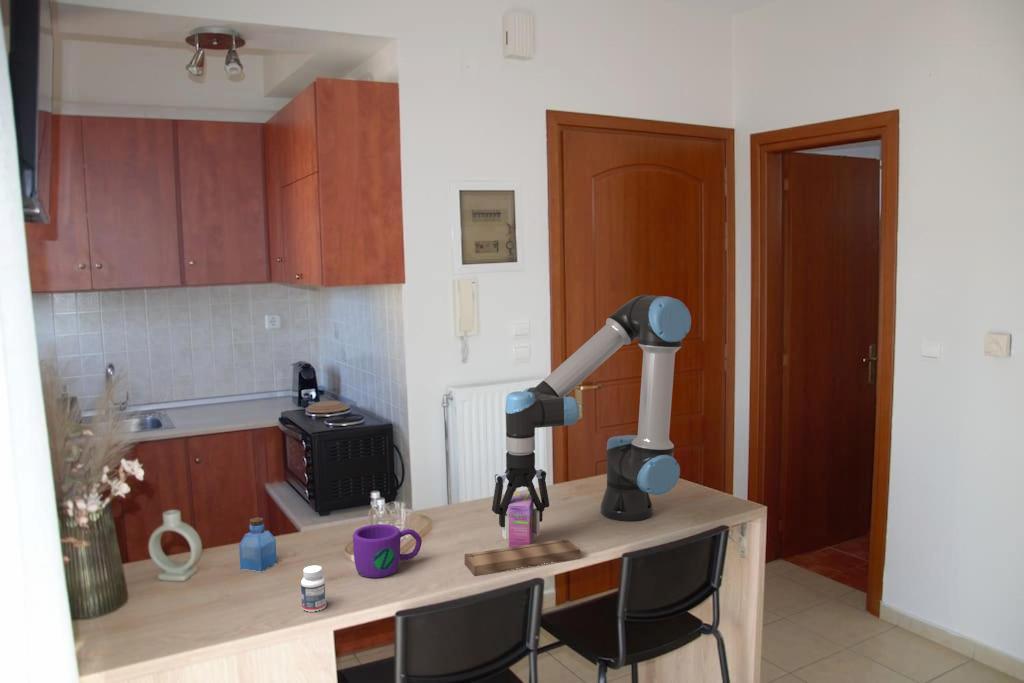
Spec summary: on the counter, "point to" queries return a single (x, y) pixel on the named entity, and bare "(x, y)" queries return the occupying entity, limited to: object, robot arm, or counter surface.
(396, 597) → the counter surface
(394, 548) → the mug
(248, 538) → the perfume bottle
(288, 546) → the counter surface
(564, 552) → the plank
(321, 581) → the pill bottle
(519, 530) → the box
